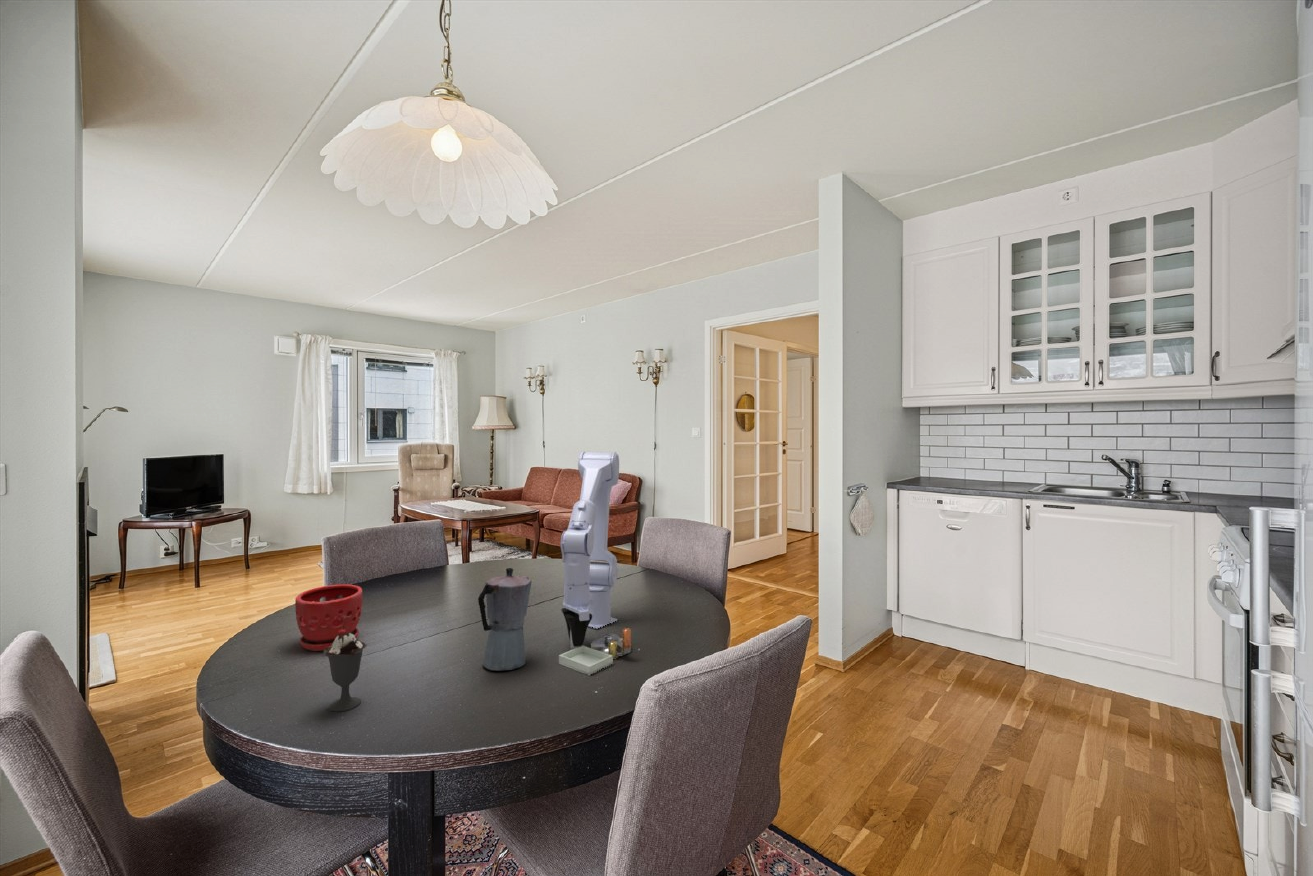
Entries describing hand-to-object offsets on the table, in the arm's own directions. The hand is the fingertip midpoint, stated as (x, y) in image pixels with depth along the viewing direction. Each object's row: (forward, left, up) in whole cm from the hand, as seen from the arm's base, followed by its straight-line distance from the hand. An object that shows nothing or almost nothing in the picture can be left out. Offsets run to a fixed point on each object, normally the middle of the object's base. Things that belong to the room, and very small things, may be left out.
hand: (576, 642), depth 121 cm
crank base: (+6, +5, -2) cm, 8 cm away
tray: (+7, -4, -2) cm, 8 cm away
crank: (+9, +4, 0) cm, 10 cm away
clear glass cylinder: (0, 0, -2) cm, 2 cm away
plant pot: (-46, -33, -2) cm, 57 cm away
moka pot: (-6, -15, -2) cm, 16 cm away
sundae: (-14, -43, -2) cm, 45 cm away
